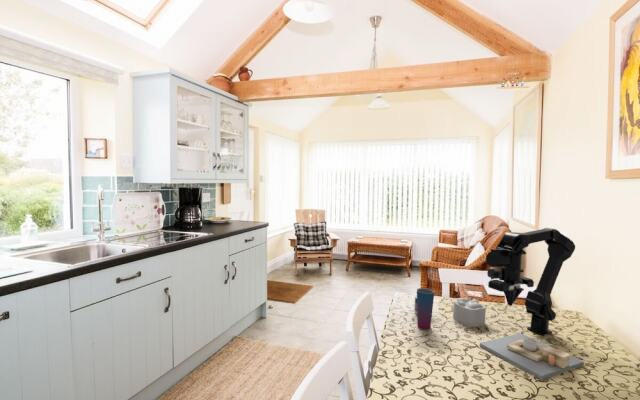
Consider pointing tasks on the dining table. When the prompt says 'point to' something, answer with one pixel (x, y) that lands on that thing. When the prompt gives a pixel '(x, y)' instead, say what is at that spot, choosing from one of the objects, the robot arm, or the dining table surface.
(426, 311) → the cup
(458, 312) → the lumpy-topped squat cylinder
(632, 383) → the dining table surface
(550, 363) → the orange rounded piece
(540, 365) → the board
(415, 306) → the pill bottle
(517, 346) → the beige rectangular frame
